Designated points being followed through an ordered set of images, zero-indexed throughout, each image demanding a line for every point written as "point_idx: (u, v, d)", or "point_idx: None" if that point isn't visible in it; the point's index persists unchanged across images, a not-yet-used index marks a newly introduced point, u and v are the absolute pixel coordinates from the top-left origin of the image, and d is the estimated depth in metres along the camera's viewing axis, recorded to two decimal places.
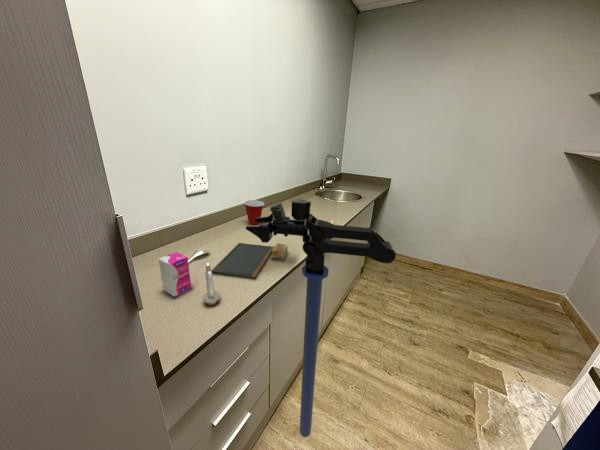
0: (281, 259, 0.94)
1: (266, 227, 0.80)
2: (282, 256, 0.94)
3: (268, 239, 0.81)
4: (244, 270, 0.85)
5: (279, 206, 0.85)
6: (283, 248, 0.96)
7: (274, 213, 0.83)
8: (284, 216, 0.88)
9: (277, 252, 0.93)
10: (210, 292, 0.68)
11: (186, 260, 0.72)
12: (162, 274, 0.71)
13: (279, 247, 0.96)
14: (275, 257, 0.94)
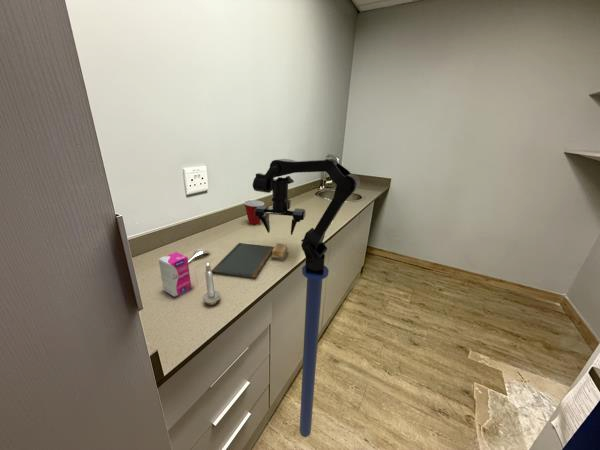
0: (281, 259, 0.94)
1: None
2: (282, 256, 0.94)
3: None
4: (244, 270, 0.85)
5: None
6: (283, 248, 0.96)
7: None
8: None
9: (277, 252, 0.93)
10: (210, 292, 0.68)
11: (186, 260, 0.72)
12: (162, 274, 0.71)
13: (279, 247, 0.96)
14: (275, 257, 0.94)
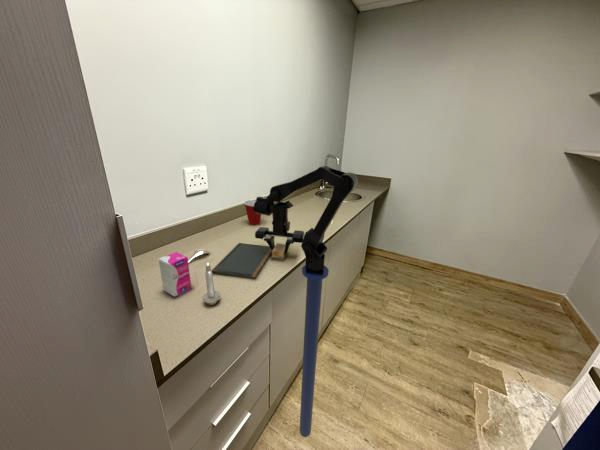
0: (281, 259, 0.94)
1: None
2: (282, 256, 0.94)
3: (256, 231, 0.94)
4: (244, 270, 0.85)
5: None
6: (283, 248, 0.96)
7: None
8: None
9: (277, 252, 0.93)
10: (210, 292, 0.68)
11: (186, 260, 0.72)
12: (162, 274, 0.71)
13: (279, 247, 0.96)
14: (275, 257, 0.94)
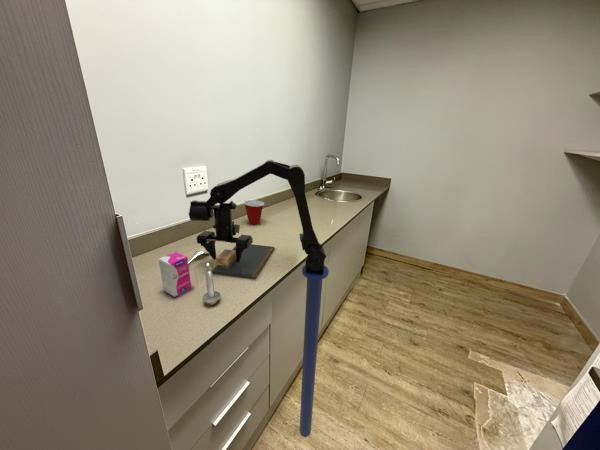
0: (226, 267, 0.85)
1: None
2: (227, 264, 0.85)
3: None
4: (244, 270, 0.85)
5: None
6: (229, 255, 0.87)
7: None
8: None
9: (221, 259, 0.85)
10: (210, 292, 0.68)
11: (186, 260, 0.72)
12: (162, 274, 0.71)
13: (225, 254, 0.88)
14: (220, 264, 0.86)
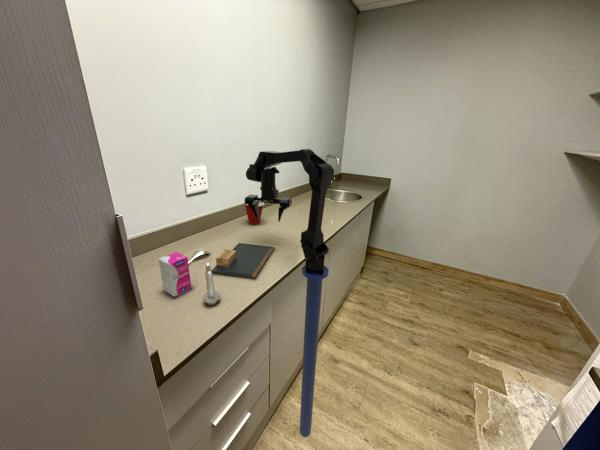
0: (226, 267, 0.85)
1: None
2: (227, 264, 0.85)
3: (245, 197, 0.99)
4: (244, 270, 0.85)
5: None
6: (229, 255, 0.87)
7: None
8: None
9: (221, 259, 0.85)
10: (210, 292, 0.68)
11: (186, 260, 0.72)
12: (162, 274, 0.71)
13: (225, 254, 0.88)
14: (220, 264, 0.86)
